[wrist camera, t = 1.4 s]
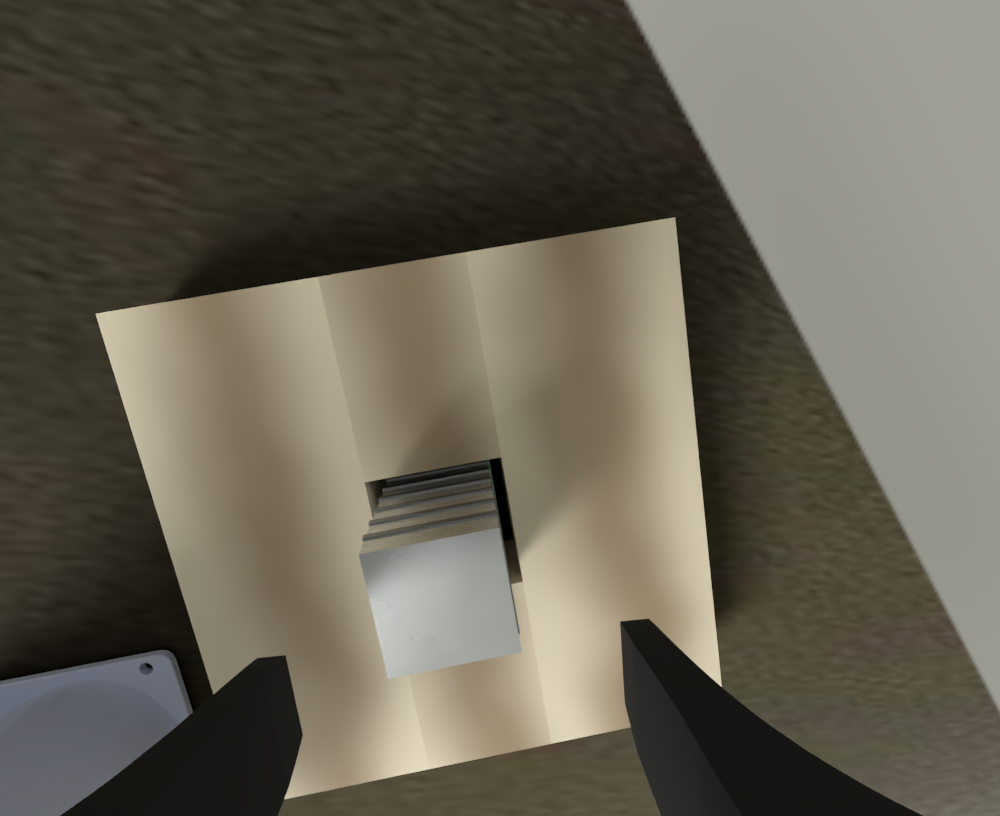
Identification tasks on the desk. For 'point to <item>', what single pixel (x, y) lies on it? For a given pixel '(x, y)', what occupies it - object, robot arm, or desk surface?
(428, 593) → the grey striped block
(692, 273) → the desk surface
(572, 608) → the stand block
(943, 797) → the desk surface
